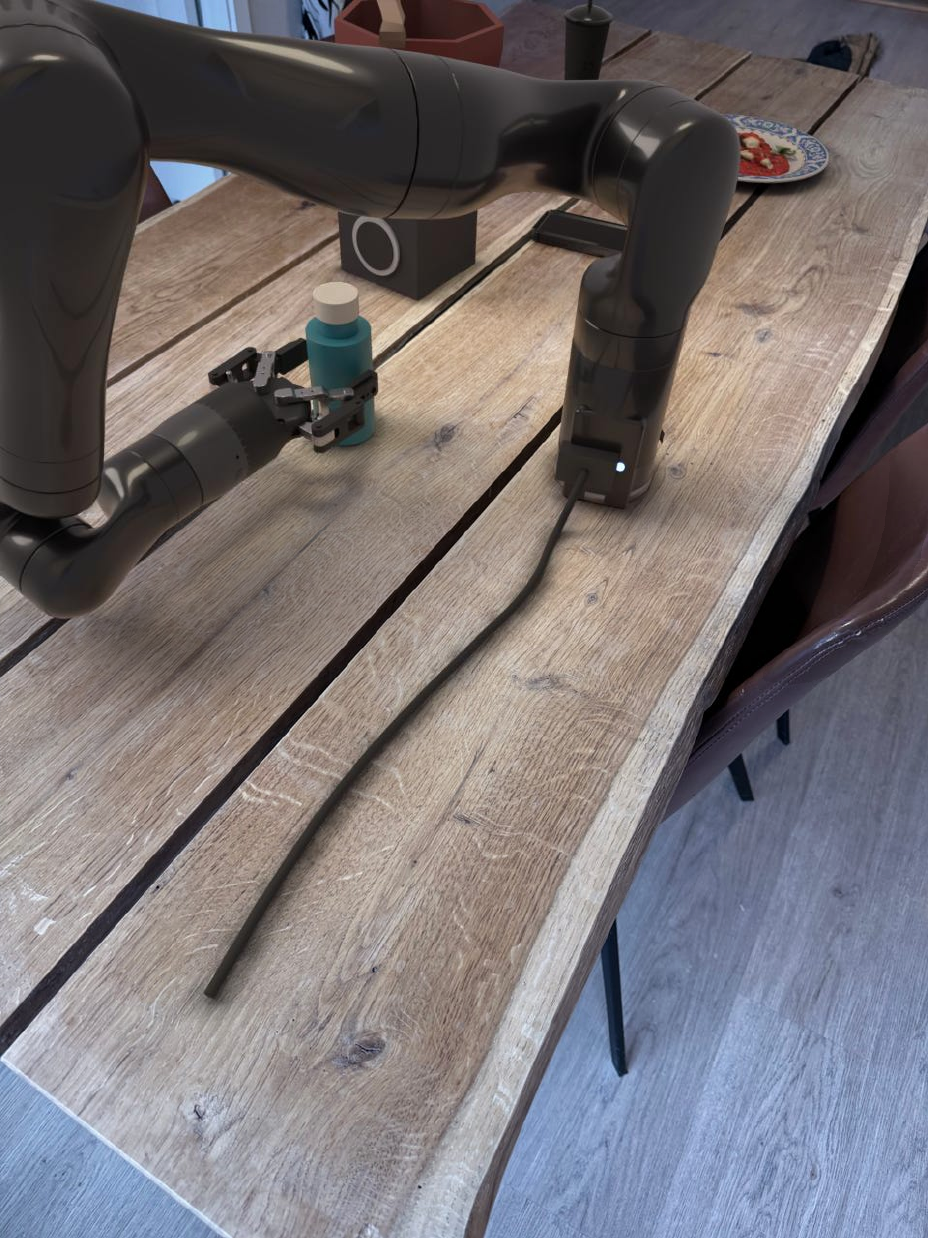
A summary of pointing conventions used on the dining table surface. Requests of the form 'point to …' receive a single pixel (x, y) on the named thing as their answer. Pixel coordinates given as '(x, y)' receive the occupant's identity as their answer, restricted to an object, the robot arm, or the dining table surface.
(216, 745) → the dining table surface
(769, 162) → the ceramic plate
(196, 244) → the dining table surface
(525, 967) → the dining table surface
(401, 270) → the washer
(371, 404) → the detergent bottle
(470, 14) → the bucket
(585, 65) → the drinking cup
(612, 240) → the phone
